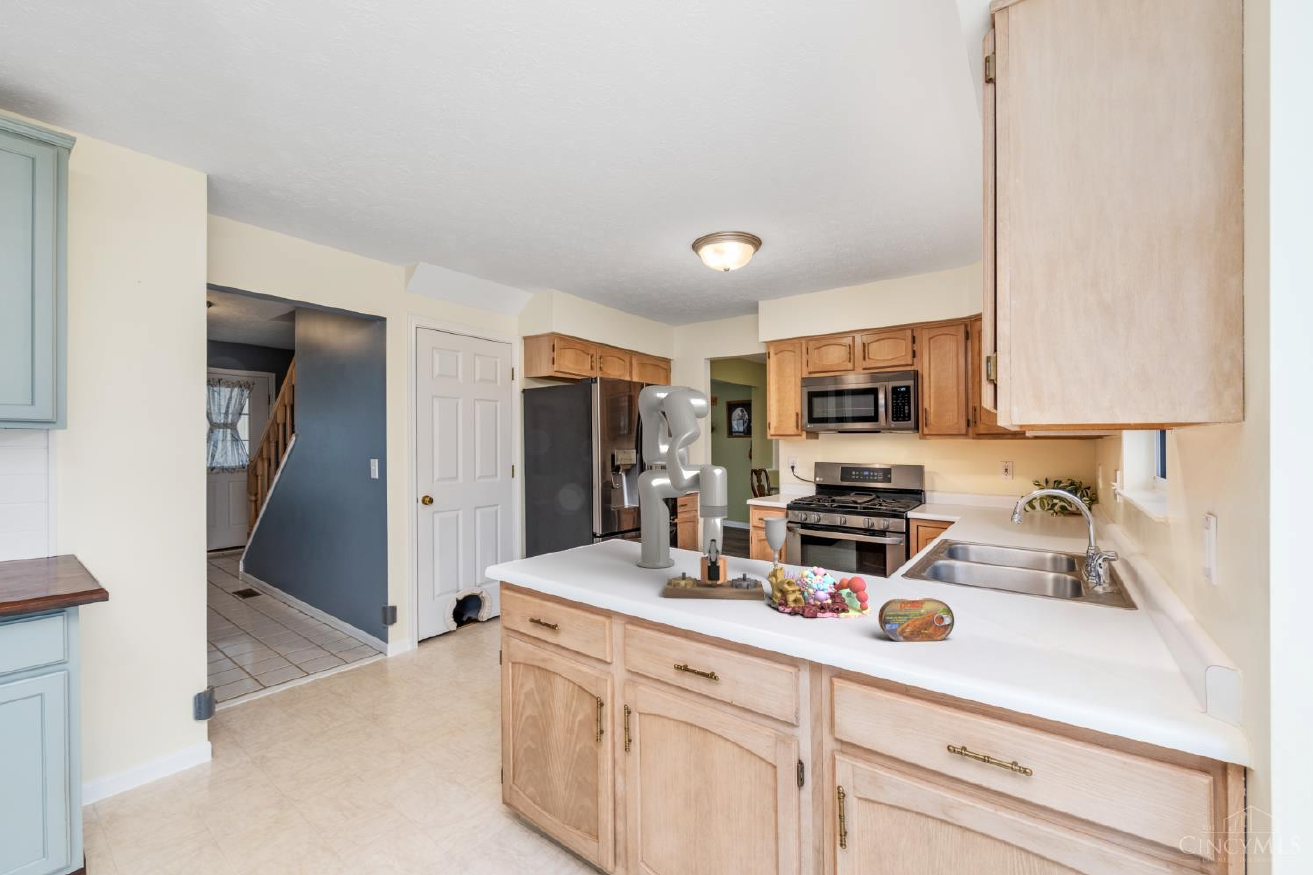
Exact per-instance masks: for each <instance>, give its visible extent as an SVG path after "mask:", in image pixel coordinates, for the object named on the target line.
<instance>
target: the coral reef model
mask: <svg viewBox="0 0 1313 875" xmlns="http://www.w3.org/2000/svg"><path fill="white" fill-rule="evenodd" d="M768 577H769V581H768V582H769V584H770V587H771V593H770V594H767V596H768V597H769V598H770V600H769V601H767V603H768V605H771V607H774V608H775V609H778V610H779V612H783V613H791V614H790V615H791V616H793V615H795V614H802V615H803V616H804V618H830V617H833V618H838V619H859V618H865V617H868V616H869V615H871V614H872V608H871V605H870V604H868V602H867V601H868V600H869V595H868V594H867V592H865V591H866V588H867V583H866V581H865V580H864V579H863V578H862V577H861V576H853V577H851V578H850V579H848V578H846V577H844V578H841V579H840V580H839V583H837V582H836V580H835V579H834V578H833V576H832V575H831V574H830V573H828V572H826V570H825V569H824V568H823V567H817V566H813V567H812V568H807V569H805V570H803V571H799V574H797V575H796V570H795V571H794V572H793V575H790V570H788V571H787V570H785V567H782V566H779V565H778V566H776V567H775V568H774V567H773V568H772V570H770V571H769V572H768ZM783 578H784V579H783Z"/></svg>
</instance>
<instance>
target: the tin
mask: <svg viewBox="0 0 1313 875" xmlns="http://www.w3.org/2000/svg"><path fill="white" fill-rule="evenodd" d="M877 619H878V620H877V621H878V624H879V628H880V630H882V632H883V633H884V634H885V635H887V636H888V637H889V638H890V639H891V640H893V641H895V642H899V643H905V642H906V643H910V642H911V643H912V642H939V641H942V640H944V639H946V638H947V637H948V636H950V635H951V633H952V631H953V629H954V626H955V616H954V612H953V610H952V609H951V607H950V606H949V605H948V604H947V603H946V602H944V601H942V600H939V599H936V598H932V597H920V598H918V597H917V598H894V599H890V600H888V601H886V602H885V603H884V604H883V605H882V606H881V607H880V609H879V611H878V618H877Z"/></svg>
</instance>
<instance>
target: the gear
mask: <svg viewBox="0 0 1313 875" xmlns="http://www.w3.org/2000/svg"><path fill="white" fill-rule="evenodd" d="M699 561H700V565H699V566H700V580H701V582H707V583H709V584H711V583H717V584H721V583H722V582H727V580H728V558H727V557H725V556H721V555H719V565H720V580H719V581H708V555H707V556H701V557H700V560H699Z"/></svg>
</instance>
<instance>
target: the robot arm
mask: <svg viewBox="0 0 1313 875" xmlns="http://www.w3.org/2000/svg"><path fill="white" fill-rule="evenodd" d="M637 402H638V403H637V404H638V410H639V415H640V418H641V419H640V420H641V422H642V459H643V462H644V464H646V465H647V466H653V467H655V466H657V467H661V466H663V467H664V466H665V469H648V470H646V471H643V472H641V473H640V474H639V476H638V479H637V489H638V494H639V503H640V534H641V536H640V537H641V538H640V539H641V540H640V544H641V549H640V550H641V552H640V553H641V558H639V559H637V560H636V565H637V566H638V567H640V568H646V569H647V568H648V569H660V568H661V569H662V568H668V567H672V566H674V565H675V560H674V559H673V558H670V555H671V554H670V547H671V546H670V510H669V508H668V506H667V505H666V503H665V501H663V499H667V498H680V497H684V496H686V495H687V493H688V492H698V493H699V494H698V495H699V518H701V519H703V521H702V522H703V523H702V555H704V556H706V555H707V556H708V581H719V580H720V565H719V556H721V555H722V551H723V550H722V549H723V537H724V533H723V532H724V519H727V518H728V472H727V471H728V470H727V468H725V467H724V466H721V465H719V466H718V465H717V466H716V465H713V464H706V463H705V464H704V463H702V464H699V463H698V464H695V463H694V464H690V447H689V446H690V445H692V444H693V443H696V442H697V440H699V438H700V437H701V429H700V426H699V422H698V419H704V418H706V417H707V416H708V415H709V412H710V401H709V398H708V396H707V395H706V394H705V393H704V392H703V391H701V390H699V389H698V390H697V389H696V388H695V389H694V388H692V387H690V386H684V385H683V386H681V385H663V384H662V385H658V384H657V385H655V384H654V385H649V386H646V387H643V388H642V389H641V390H640V392H639V396H638V401H637ZM662 412H665V416H664V415H663V413H662ZM669 430H670V433H671V436H670V437H669Z"/></svg>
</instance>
